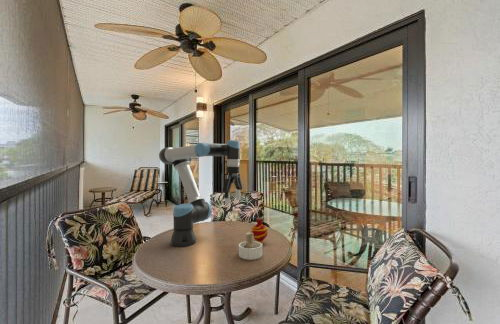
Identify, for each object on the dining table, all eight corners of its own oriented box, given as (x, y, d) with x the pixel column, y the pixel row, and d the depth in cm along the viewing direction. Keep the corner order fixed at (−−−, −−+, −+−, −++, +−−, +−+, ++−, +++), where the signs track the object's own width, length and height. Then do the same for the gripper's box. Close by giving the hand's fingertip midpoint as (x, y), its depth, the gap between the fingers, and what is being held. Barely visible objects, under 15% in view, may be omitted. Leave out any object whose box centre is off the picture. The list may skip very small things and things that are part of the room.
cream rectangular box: (246, 253, 137) (246, 233, 137) (247, 252, 139) (247, 232, 139) (252, 254, 136) (252, 234, 136) (253, 253, 138) (253, 233, 137)
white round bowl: (234, 257, 134) (234, 246, 134) (244, 249, 145) (244, 239, 145) (256, 261, 129) (256, 250, 129) (265, 252, 140) (265, 242, 140)
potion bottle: (266, 245, 151) (266, 220, 151) (249, 244, 154) (249, 220, 153) (268, 240, 162) (268, 216, 161) (252, 239, 164) (252, 216, 164)
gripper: (228, 167, 138) (228, 206, 139) (247, 165, 161) (247, 199, 162) (216, 166, 141) (216, 204, 142) (237, 165, 164) (236, 198, 165)
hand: (232, 202), depth 152 cm, fingers open, 13 cm apart
